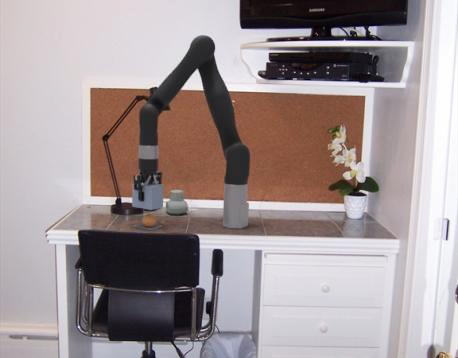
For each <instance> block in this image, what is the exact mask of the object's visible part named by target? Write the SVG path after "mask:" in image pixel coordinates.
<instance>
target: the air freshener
mask: <svg viewBox="0 0 458 358" xmlns="http://www.w3.org/2000/svg"><path fill="white" fill-rule="evenodd" d="M169 193H170V194H169V200H167V201H166V203H165V210H166V212H167V213H169V215H177V216H179V215H183V214H185V213H187V212H188V210H189V205H188V203H187V201H186V200H185V198H184V196H185V193H184V190H181V189H172V190H170V192H169Z"/></svg>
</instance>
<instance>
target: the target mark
mask: <svg viewBox="0 0 458 358" xmlns="http://www.w3.org/2000/svg"><path fill="white" fill-rule="evenodd" d="M131 227H132V228H136V229H142V230H146V231H154V230H155V231H156V230H158V229H160V228H161V229H162V228H164V227H165V225H162V224H161V225H160V224H156V223H155V224H154V225H153V226H152V227H146V226H145V225H144V224H143V222H142V223H137V224H133V225H131Z"/></svg>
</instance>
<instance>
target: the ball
mask: <svg viewBox="0 0 458 358" xmlns="http://www.w3.org/2000/svg"><path fill="white" fill-rule="evenodd" d="M156 220H157V219H156V217H155V216H154V215H153V214H151V213H150V214H149V213H148V214H145V215H144V216H143V217H142V223H143V224H144V225H145V226H146V227H152V226H153V225H154V224H156Z"/></svg>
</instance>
